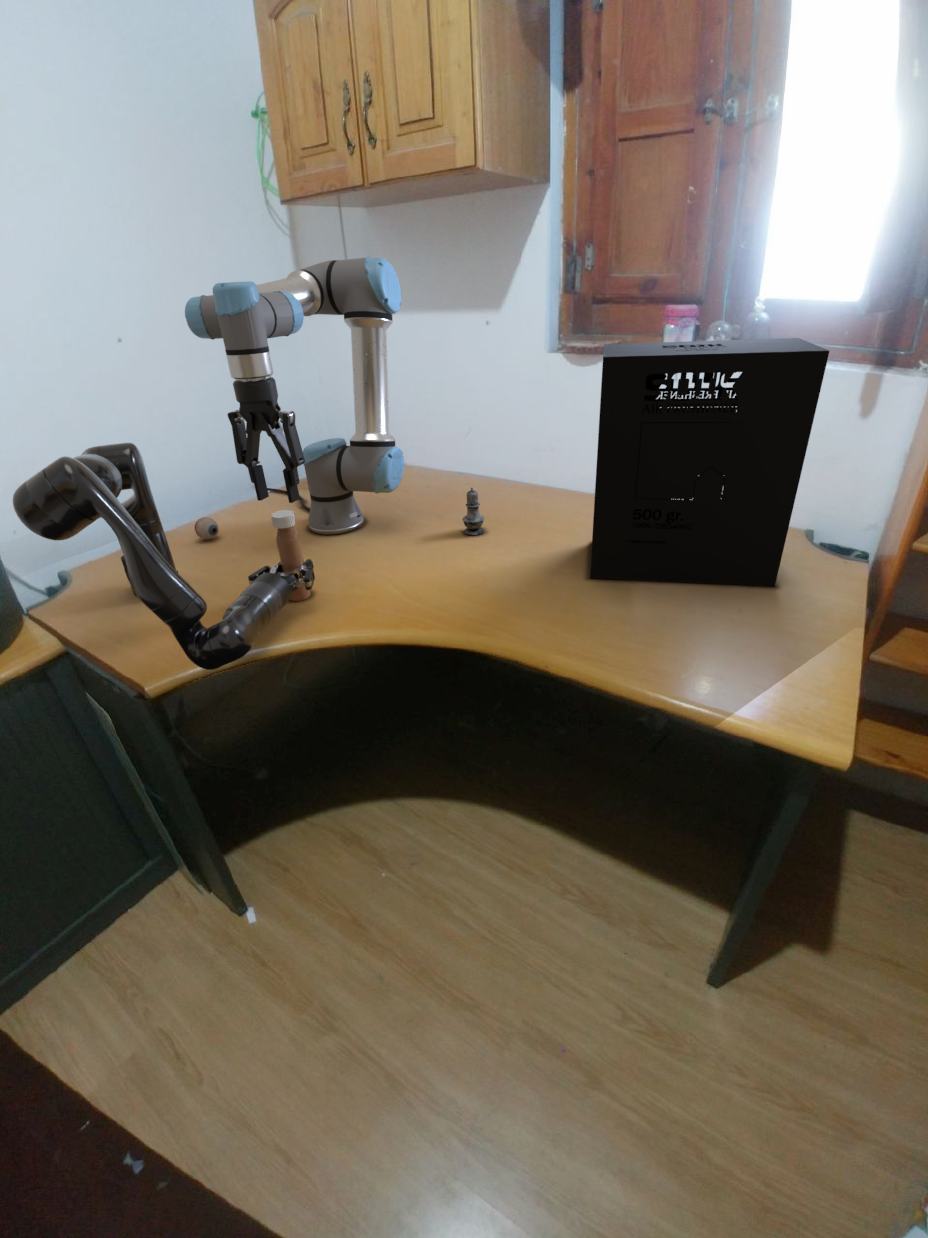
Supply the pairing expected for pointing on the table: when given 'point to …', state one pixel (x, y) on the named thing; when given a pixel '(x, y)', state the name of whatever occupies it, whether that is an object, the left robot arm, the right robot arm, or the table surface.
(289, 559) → the bottle
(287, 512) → the cap
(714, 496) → the cardboard box
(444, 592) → the table surface
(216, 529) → the eyeball
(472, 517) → the salt shaker
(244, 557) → the table surface
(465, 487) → the table surface
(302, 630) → the table surface
